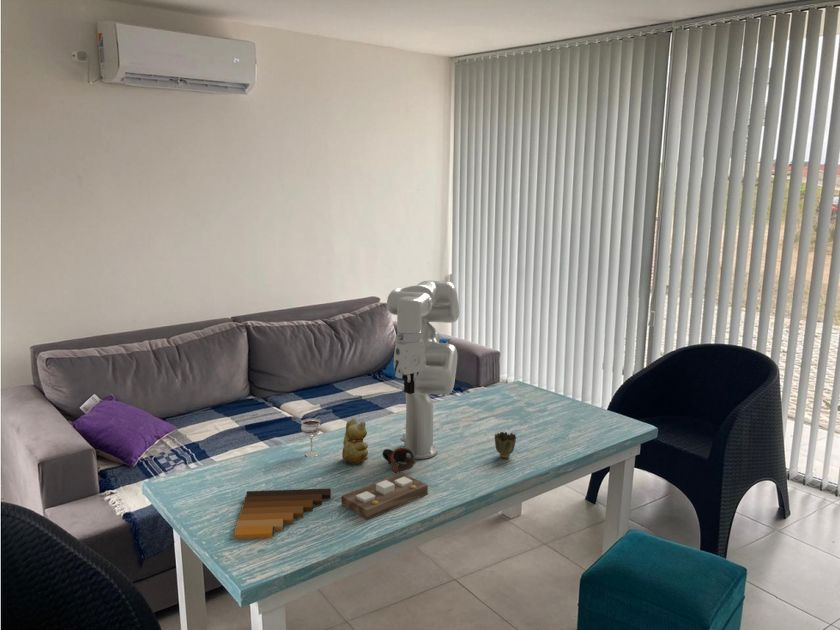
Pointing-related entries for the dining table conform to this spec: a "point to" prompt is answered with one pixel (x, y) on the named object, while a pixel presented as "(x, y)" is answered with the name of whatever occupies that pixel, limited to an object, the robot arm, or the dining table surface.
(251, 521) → the pan flute
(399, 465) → the pottery mug
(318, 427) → the wineglass
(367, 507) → the button board
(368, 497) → the button
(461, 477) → the dining table surface
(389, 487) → the button middle
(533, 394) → the dining table surface
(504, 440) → the dark tapered rough piece
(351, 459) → the decorative figurine
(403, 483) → the button
